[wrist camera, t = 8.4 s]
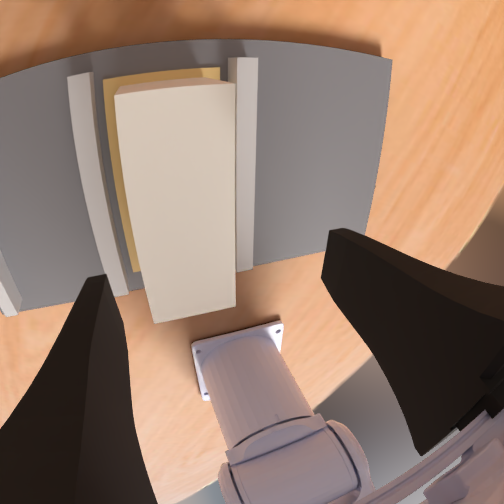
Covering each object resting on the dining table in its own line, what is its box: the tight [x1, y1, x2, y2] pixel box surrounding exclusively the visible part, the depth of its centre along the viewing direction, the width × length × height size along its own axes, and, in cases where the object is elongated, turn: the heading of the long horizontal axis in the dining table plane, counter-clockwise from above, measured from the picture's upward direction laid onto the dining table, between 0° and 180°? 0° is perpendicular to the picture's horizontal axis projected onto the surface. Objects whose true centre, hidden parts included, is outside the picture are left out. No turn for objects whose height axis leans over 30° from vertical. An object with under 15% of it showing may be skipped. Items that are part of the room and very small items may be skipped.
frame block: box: [114, 77, 236, 324], centre depth 14 cm, size 10×4×5 cm, turn 177°
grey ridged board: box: [0, 39, 392, 317], centre depth 16 cm, size 14×27×2 cm, turn 87°
